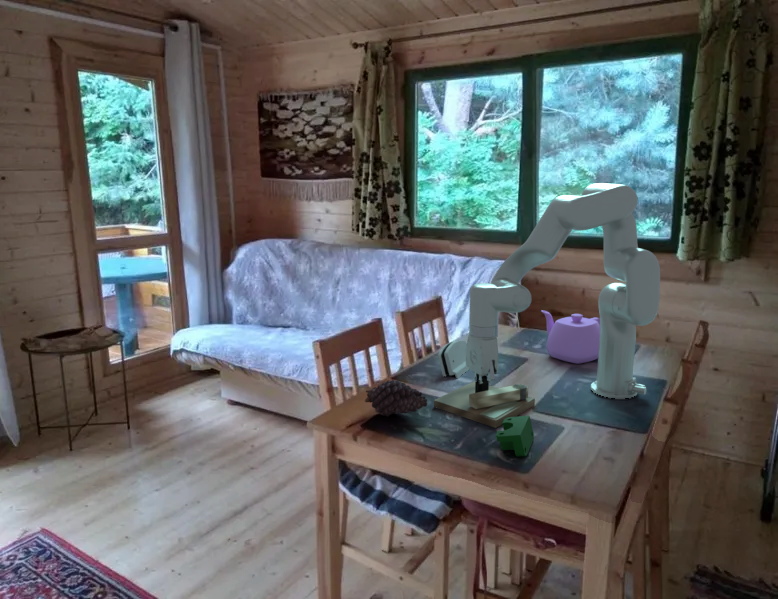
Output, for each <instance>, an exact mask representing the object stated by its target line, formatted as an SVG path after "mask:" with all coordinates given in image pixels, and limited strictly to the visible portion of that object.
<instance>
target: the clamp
mask: <svg viewBox="0 0 778 599" xmlns="http://www.w3.org/2000/svg"><path fill="white" fill-rule="evenodd" d="M502 428H503V430H497V431H496V433H495V437H496V438H495V439H496V441H497V442H498V443H499V445H500V448H501V451H508V450H509V451H510V450H511V451H512V450H514V454H515V456H516V457H527V456H528V453H529V451H530V449H531V446H532V444H533V443H534V442H533V441H534V438H535V436H534V435H535V434H534V430H533V426H532V420H531V415H520V416H518V415H517V416H515V417H508V418H505V419H504V421H503V422H502Z"/></svg>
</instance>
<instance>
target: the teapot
mask: <svg viewBox="0 0 778 599" xmlns="http://www.w3.org/2000/svg"><path fill="white" fill-rule="evenodd" d="M540 312H542V314H543V315H544V316H545V319H546V333H547V336H548V337H547V341H546V350H547V352H548V355H549V356H550V357H551V358H555V359H558V360H560V361H564V362H568V363H571V364H574V365H575V364H576V365H579V364H582V363H583V364H584V363H589V362H592V361H595V360H598V353H599V338H600V317H595V316H594V317H591V318H588V317H583V316H584V315H583V314H581V313H573V314H571V316H566V317H562V318H559V319H557V320H555V322H554V318H553V316H552V314H551V312H549V311H547V310H542V309H541V311H540Z"/></svg>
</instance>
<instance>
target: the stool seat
mask: <svg viewBox="0 0 778 599" xmlns="http://www.w3.org/2000/svg"><path fill="white" fill-rule="evenodd" d="M475 382H476V381H475V380H473V381H472V382H471V381H470V382H469V383H467V384H464V385H463V386H461V387H459V388H457V389H455V390H451V391H450V392H448V393H446V394H444V395H442V396H440V397H437V398H436V399H434V400H433V407H434V408H436V407H437V408H436V409H438V408H439V410H441V409H442V411H444V410H445V412H448V413H450V414H453V415H456V416H458V417H462V418H465V419H467V420H471V421H474V422H478V423H480V424H483V425H486V426H489V427H492V428H494V429H497V428H498V427H500V426H503V424H502V422H503V421H504V419H505V418H508V417H517V416H518V415H521V414H522V413H524V412H525V411H527V410H529V409H530V408H532V407H534V406H535V405H536V399H535V398H534V397H531V396H528V398H526V399H524V400H517V401H512V402H507V403H502V404H498V405H493V406H488V407H484V408H479V409H475V408H473V407H472V406H470V405H469V394H473V393H475ZM498 388H499V387H496V386H493V385H489V390H493V389H498Z"/></svg>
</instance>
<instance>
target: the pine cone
mask: <svg viewBox="0 0 778 599" xmlns="http://www.w3.org/2000/svg"><path fill="white" fill-rule="evenodd" d="M365 392H366V396H367V397H366V398H365V399H364V402H365V403H370V404H371V407H372V408H374V410H375V412H376V413H377V414H378V413H379V414H380V415H381V416H385V417H387V418H389V417H390V415H395V414H407V413H408V414H409V413H412V412H413V413H414V412H417V411H418V410H420V409H422V408H423V407H424V408H425V407H426V408H427V406H428V398H426V396H425V395H424V396H423V395H422V394H423V393H422V392H421V391H420V390H417V389H416V388H412V387H411V386H410V385H407V384H406V382H401V381H400V380H394V379H392V380H387V381H384V382H382V383H380V384H378V385H377V387H376V386H375V387H373V388H371V389H367V390H365Z"/></svg>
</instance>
